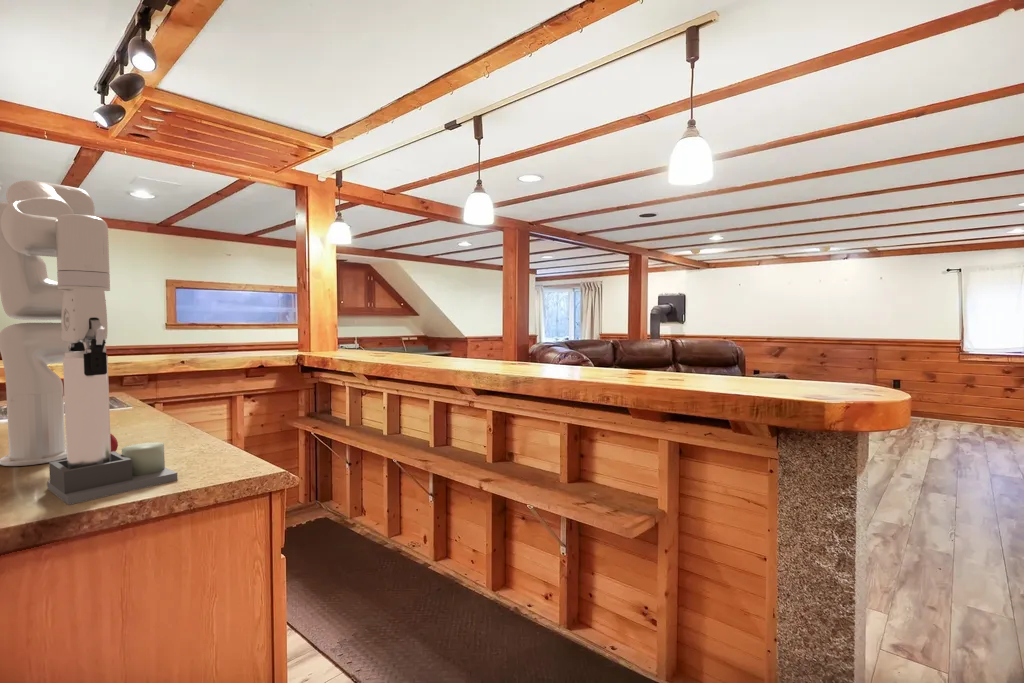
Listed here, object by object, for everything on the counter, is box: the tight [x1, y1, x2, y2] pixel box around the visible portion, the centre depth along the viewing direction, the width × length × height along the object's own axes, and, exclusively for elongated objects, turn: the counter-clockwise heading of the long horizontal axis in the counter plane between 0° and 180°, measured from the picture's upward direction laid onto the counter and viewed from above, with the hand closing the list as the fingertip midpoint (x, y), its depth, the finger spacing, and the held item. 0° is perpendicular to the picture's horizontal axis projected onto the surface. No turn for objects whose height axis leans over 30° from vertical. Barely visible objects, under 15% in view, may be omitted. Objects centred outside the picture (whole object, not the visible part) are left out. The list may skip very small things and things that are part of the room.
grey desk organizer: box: [46, 441, 178, 506], centre depth 99 cm, size 14×17×6 cm
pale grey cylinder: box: [62, 351, 111, 470], centre depth 96 cm, size 6×6×25 cm
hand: (87, 373), depth 95 cm, fingers open, 9 cm apart
